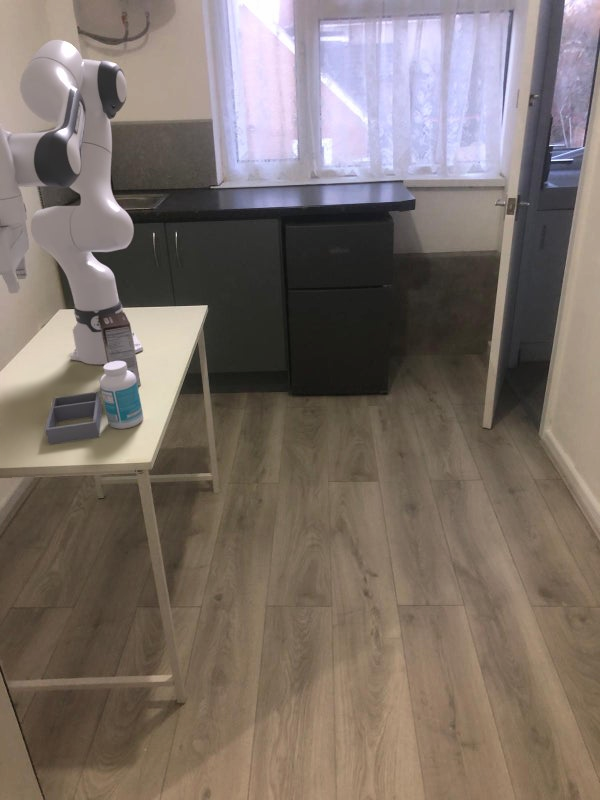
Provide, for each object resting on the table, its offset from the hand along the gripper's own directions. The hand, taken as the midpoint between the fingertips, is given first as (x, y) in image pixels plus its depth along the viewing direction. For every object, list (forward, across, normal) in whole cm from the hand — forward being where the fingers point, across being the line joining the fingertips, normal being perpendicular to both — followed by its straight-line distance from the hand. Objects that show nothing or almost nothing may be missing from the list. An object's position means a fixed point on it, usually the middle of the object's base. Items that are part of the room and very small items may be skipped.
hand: (18, 284), depth 127 cm
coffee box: (+31, +17, -15) cm, 39 cm away
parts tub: (+31, -2, -5) cm, 32 cm away
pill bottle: (+31, -4, -15) cm, 35 cm away
